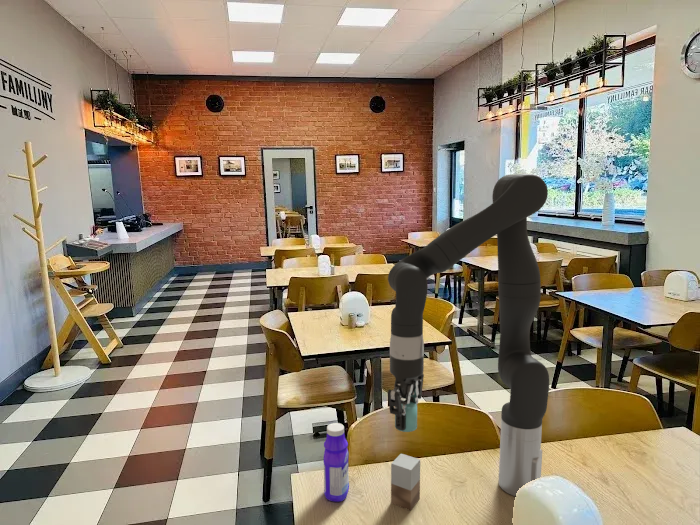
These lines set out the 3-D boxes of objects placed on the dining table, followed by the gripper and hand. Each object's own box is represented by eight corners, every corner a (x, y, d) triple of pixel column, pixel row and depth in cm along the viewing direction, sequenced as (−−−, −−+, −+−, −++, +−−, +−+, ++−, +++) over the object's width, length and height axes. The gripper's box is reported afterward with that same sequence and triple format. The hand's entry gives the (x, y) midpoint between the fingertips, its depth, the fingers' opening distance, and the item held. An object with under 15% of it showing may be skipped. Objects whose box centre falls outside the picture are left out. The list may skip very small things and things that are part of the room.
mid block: (420, 479, 112) (420, 459, 112) (410, 490, 108) (411, 470, 107) (400, 472, 115) (401, 453, 114) (391, 483, 111) (391, 463, 110)
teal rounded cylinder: (420, 424, 110) (420, 404, 110) (411, 434, 106) (411, 412, 105) (401, 419, 113) (401, 399, 112) (391, 428, 109) (391, 407, 108)
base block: (419, 498, 113) (420, 479, 112) (410, 510, 109) (410, 490, 108) (400, 491, 116) (400, 472, 115) (391, 503, 112) (391, 483, 111)
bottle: (345, 505, 111) (344, 435, 108) (321, 502, 112) (319, 433, 109) (351, 486, 118) (350, 420, 115) (328, 484, 119) (327, 418, 116)
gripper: (407, 365, 99) (407, 442, 102) (435, 346, 111) (433, 415, 113) (376, 359, 103) (376, 433, 106) (405, 341, 115) (405, 408, 118)
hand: (406, 423), depth 110 cm, fingers closed on teal rounded cylinder, 5 cm apart
